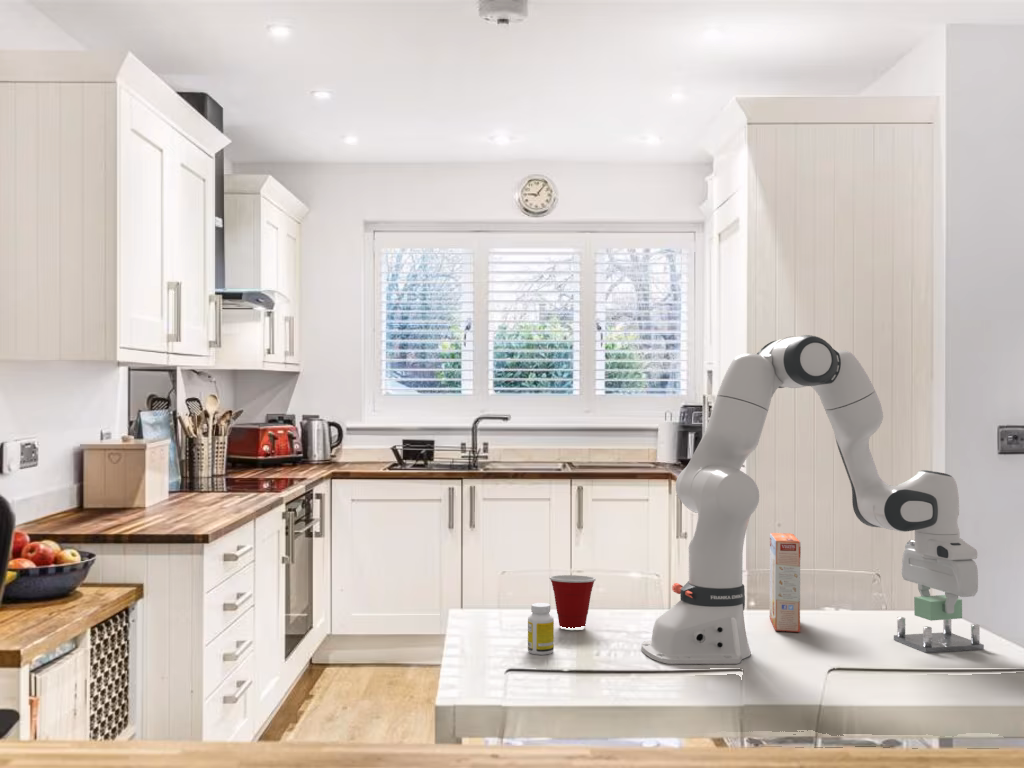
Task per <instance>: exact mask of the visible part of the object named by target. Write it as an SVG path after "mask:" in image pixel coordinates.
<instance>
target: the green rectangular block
mask: <svg viewBox="0 0 1024 768" xmlns="http://www.w3.org/2000/svg"><path fill="white" fill-rule="evenodd" d="M946 600H947V597H945V594H941V595H940V594H939V595H938V594H937V595H930V596H921V595H920V596H914V599H913V601H914V602H913V603H914V605H913V606H914V616H915V617H917V618H918V617H919V618H922V619H925V620H928V621H931V622H933V621H943V620H946V619H951V620H958V619H959V620H960V619H963V599H961V598H958V599H957V601H956V603H955V605H954V613H950V614H948V613H945V612H943V611H942V609H943V607H942V604H945V602H946Z"/></svg>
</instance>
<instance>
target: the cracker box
mask: <svg viewBox="0 0 1024 768" xmlns="http://www.w3.org/2000/svg"><path fill="white" fill-rule="evenodd" d="M801 543H802V541H800V540H799V539H798V538H797V537H796V535H795V534H793V533H790V532H788V533H787V532H770V533H769V619H770V622H771V625H773V628H774V631H775V632H785V631H786V632H787V633H801V550H802V548H801V545H802V544H801Z"/></svg>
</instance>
